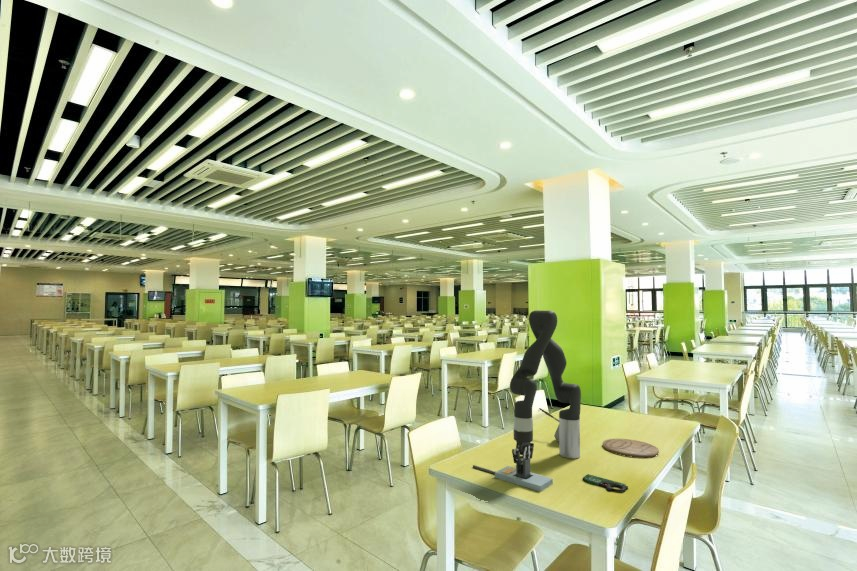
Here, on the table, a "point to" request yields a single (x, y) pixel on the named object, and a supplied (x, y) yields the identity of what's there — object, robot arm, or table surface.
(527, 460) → the block
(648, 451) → the trivet
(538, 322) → the robot arm
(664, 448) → the table surface
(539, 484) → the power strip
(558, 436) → the coffee pot
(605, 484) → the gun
